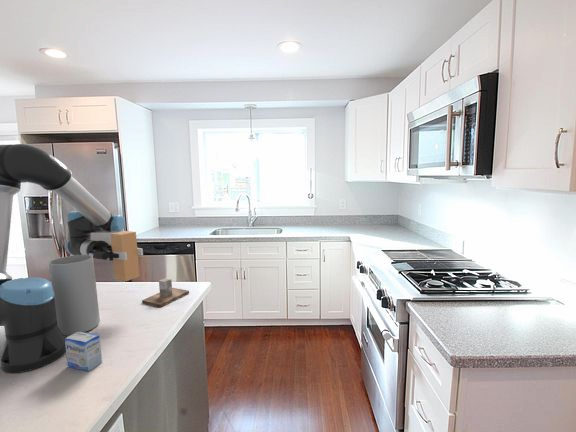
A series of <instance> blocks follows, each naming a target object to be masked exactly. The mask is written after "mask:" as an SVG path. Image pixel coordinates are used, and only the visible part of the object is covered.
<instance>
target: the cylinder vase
mask: <svg viewBox="0 0 576 432" xmlns="http://www.w3.org/2000/svg"><path fill="white" fill-rule="evenodd" d="M94 261H95V260H94V259H93V256H92V255H75V256H74V255H68V256H63V257H58V258H55V259H52V260H50V261H49V262H48V268H49V269H48V270H49V276H50V282H51V284H52V288H53V291H54V298H55V307H56V317H57V325H58V327H59V329H60V330H61V332H62V334H63V335H64V337H66V336H67V337H69V336H71V335H72V334H75V333H77V332H84V333H88V331H91V330H93V329H94V328H96V327H98V325H99V324H100V321H101V319H100V310H99V301H98V300H99V299H98V289H97V281H96V273H95V271H96V270H95V265H94V263H95V262H94Z"/></svg>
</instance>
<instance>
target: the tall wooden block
mask: <svg viewBox="0 0 576 432" xmlns="http://www.w3.org/2000/svg"><path fill="white" fill-rule="evenodd" d="M109 234H110V245H111V246H112V253H113V252H114V251H118V252H126V253H127V260H121V259H114V258H113V260H112V268H113V276H114V280H117V281H121V282H127V281H130V280H134V279H136V278H139V277H140V276H141V274H140V273H141V272H140V263H139V255H138V250H137V248H138V241H137V240H138V239H137V231H132V230H130V231H129V230H124V231H123V230H122V231H121V232H116V233H109Z"/></svg>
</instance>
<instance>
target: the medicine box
mask: <svg viewBox="0 0 576 432" xmlns="http://www.w3.org/2000/svg"><path fill="white" fill-rule="evenodd" d="M65 345H66V352H65V355H66V363H67V368H72V369H75V370H76V369H77V370H81V371H86V372H90V371H92V370H93V369H94V368H96V367H98V366H99V365H101V364H102V363H103V357H102V347H101V346H102V345H101V338H100V335H99V334H95V333H89V332H77V333H75V334H72V335H69V336H67V337H65Z"/></svg>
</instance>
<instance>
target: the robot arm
mask: <svg viewBox="0 0 576 432" xmlns="http://www.w3.org/2000/svg"><path fill="white" fill-rule="evenodd" d="M22 183H23V184H24V183H25V184H26V183H31V184H34V185H39V186H40V187H41V188H43V189H44V190H46V191H51V192H53V193H54V194H56V195H57V196H58V197H59V198H60V199H61V200H63V201H64V202H65V203H67V204H68V205H69V206H70V207H72V208H73V209H74V210H72V211H71V210H70V211H69V212H68V213H67V214H66V215H67V229H68V236H69V237H68V238H69V239H68V241H66V244H65V246H64V248H65V251H66V253H67V254H69V255H70V256H75V255H92V256H93V260H94V259H95V260H104V261H106V260H108V259H109V261H111V262H113V258H114V259H121V260H127V253H126V252H118V251H114V252H113V253H112V246H111V244H109V243H108V242H107V241H105V240H98V239H92V235H91V234H105V233H106V234H111V233H117V232H122V231H123V230H124V229H125V226H126V221H125V218H124V216H123V215H121V214H113V213H111V212H110V211H109V210H108V209H107V208H106V207H105V206H104V205H103V204H102V203H101V202H100V201H99V200H98V199H97V198H96V197H95V196H93V194H91V192H89V190H87V188H85V187H84V186H83V185H82V184H81V183H80V182H79V180H76V178H74V177H73V173H72V170H71V169H70V168H69V167H68V166H66V164H64V163H63V162H62V161H61V160H59V159H58V158H57V157H55V156H53V155H52V154H50V153H49V152H47V151H45V150H43V149H41V148H39V147H36V146H33V145H29V144H24V143H23V144H21V143H18V144H17V143H16V144H0V327H3V329H4V335H5V342H4V346H3V351H2V354H1V357H0V366H1V370H2V371H3V372H4V373H9V374H11V373H12V374H14V373H15V374H16V373H18V374H19V373H23V372H28V371H33V370H35V369H38V368H41V367H44V366H46V365H49V364H51V363H52V362H56V360H58V359H60V358H61V357H62V356H63V355H64V354H66V345H65V338H66V336H65V335H63V334H62V332H61V330H60V329H59V327H58V325H57V317H56V307H55V298H54V291H53V288H52V284H51V280H48V279H46V278H43V277H36V276H35V277H33V276H32V277H31V276H29V277H26V278H25V277H20V278H14V279H13V277H12V276H11V275H10V274H9V273H8V272H7V266H8V265H7V263H8V253H9V245H10V234H11V224H12V223H11V222H12V214H13V213H12V211H13V202H14V196H15V195H17V194H18V193H19V192H21V185H22ZM137 250H138V256H144V250H143V248H141V247H137Z"/></svg>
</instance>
